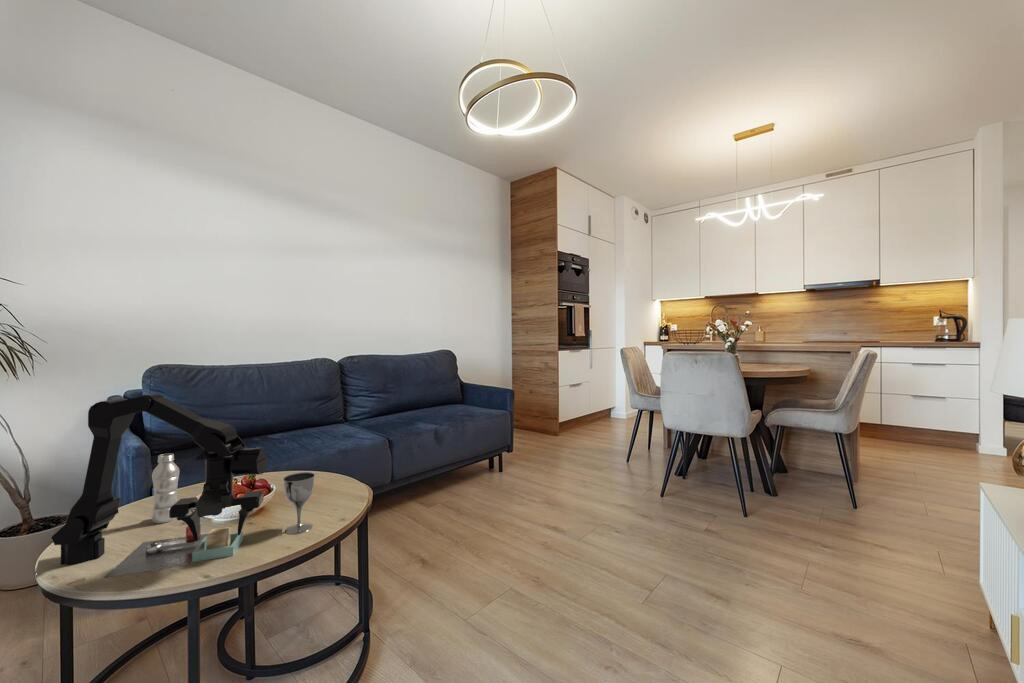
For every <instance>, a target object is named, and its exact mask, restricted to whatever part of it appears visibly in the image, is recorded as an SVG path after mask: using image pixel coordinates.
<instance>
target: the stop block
mask: <svg viewBox="0 0 1024 683" xmlns="http://www.w3.org/2000/svg"><path fill="white" fill-rule="evenodd" d="M230 533H231V526H226V527H218V528H211V529H210V531H209V532H208V533H207V534H208V535H207V536H206V549H212V548H219V547H226V546H231V543H230Z"/></svg>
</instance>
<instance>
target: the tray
mask: <svg viewBox="0 0 1024 683" xmlns="http://www.w3.org/2000/svg"><path fill="white" fill-rule="evenodd" d="M243 540H244V532H243V531H242V532H241V534H240V535H238V531H237V532H230V546H226V547H219V548H212V549H206V537H205V538H204V539H203V540H202V541H201V542H200V544H199V545H198V546H197V547H196V549H195V550H194V551H193V552H192V560H191V563H194V562H200V561H207V560H213V559H221V558H227V557H233V556H234V555H235V554H236V552H237V550H238V549H239V547H240V545H241V544H242V542H243Z"/></svg>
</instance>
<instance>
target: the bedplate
mask: <svg viewBox="0 0 1024 683" xmlns="http://www.w3.org/2000/svg"><path fill="white" fill-rule="evenodd" d="M208 534H209V533H204V534H203V533H202V534H201V538H200V540H198V541H196V543H195V544H194V545H188V546H181V547H175V548H168V549H162V550H161V551H160V552H157V553H154V554H146V546H148V545H150V544H151V543H153V542H161V543H166V542H173V541H180V540H186V536H182V537H173V538H165V539H159V540H158V539H157V540H151V541H150V540H149V541H144V542H142V543H141V544H140V545H139V546H137V547H136V548H135V549H134V550H133V551H132V552H131V553H130V554H128V555H127V556H126V557H125V558H124V559H123V560H121V562H119V563H118V565H116V566H115V567H114V568H113V569H111V571H110V572H109V573H107V574H106V575H105V576H104V578H111V577H116V576H118V577H119V576H124V575H131V574H132V575H133V574H137V573H142V572H143V573H144V572H145V573H146V572H150V571H157V570H164V569H170V568H176V567H182V566H183V567H185V566H188V565H189V564H190V562H192V552H193V551H194V550H195V549H196V547H197V546H198V545H199V544H200V542H201V541H202V540H203V539H204V538H205V537H206V536H207V535H208Z"/></svg>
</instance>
